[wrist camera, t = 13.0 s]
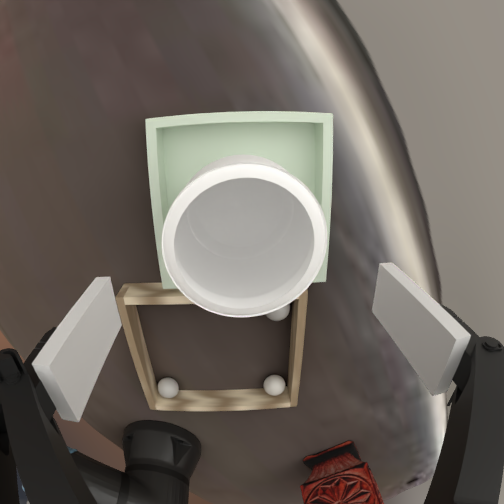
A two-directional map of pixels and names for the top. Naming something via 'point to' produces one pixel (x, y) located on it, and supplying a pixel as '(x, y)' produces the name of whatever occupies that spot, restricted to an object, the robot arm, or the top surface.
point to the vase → (340, 478)
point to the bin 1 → (237, 143)
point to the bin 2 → (204, 398)
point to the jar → (244, 237)
